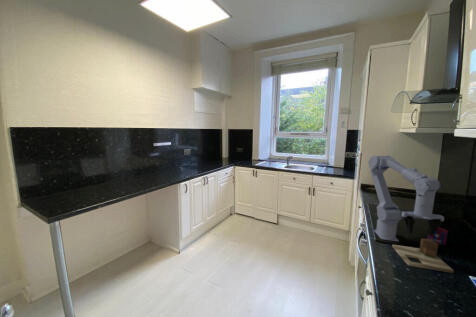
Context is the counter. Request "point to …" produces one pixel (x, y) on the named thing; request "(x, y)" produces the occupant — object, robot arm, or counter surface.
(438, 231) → the mug
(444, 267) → the board
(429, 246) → the peg
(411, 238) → the counter surface
